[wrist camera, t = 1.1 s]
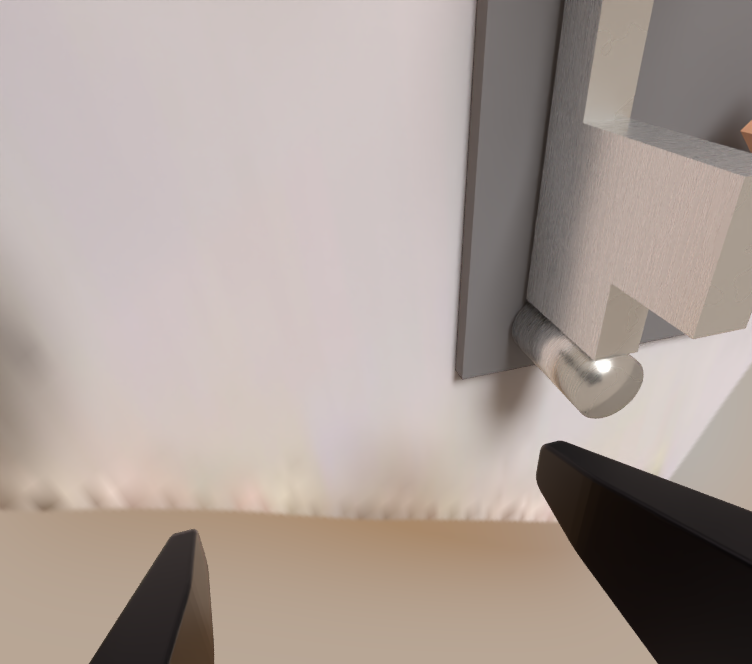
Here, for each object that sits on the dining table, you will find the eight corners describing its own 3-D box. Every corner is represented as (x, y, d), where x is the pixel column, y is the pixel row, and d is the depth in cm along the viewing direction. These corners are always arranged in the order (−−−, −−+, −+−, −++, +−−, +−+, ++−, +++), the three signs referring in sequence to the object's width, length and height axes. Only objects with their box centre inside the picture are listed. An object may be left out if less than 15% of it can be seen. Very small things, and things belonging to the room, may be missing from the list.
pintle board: (455, 369, 26) (500, 432, 23) (481, -74, 17) (563, -91, 14) (732, 314, 30) (810, 361, 26) (872, -77, 21) (1021, -91, 17)
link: (509, 354, 25) (631, 492, 18) (556, -39, 18) (800, -58, 11) (563, 344, 26) (702, 473, 19) (632, -40, 18) (910, -60, 11)
